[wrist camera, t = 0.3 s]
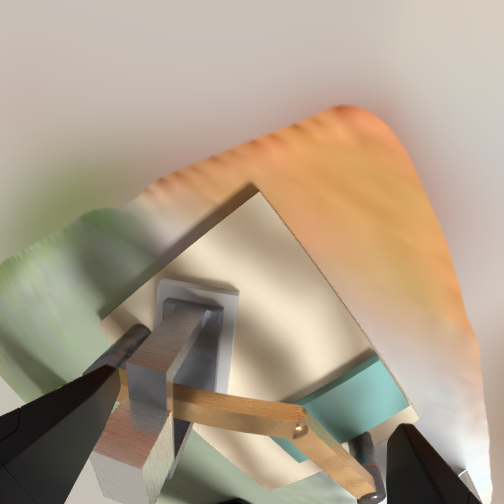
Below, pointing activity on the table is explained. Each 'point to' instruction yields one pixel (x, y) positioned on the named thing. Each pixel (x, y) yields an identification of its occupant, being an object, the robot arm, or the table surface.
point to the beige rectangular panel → (274, 340)
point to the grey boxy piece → (157, 402)
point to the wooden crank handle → (264, 423)
